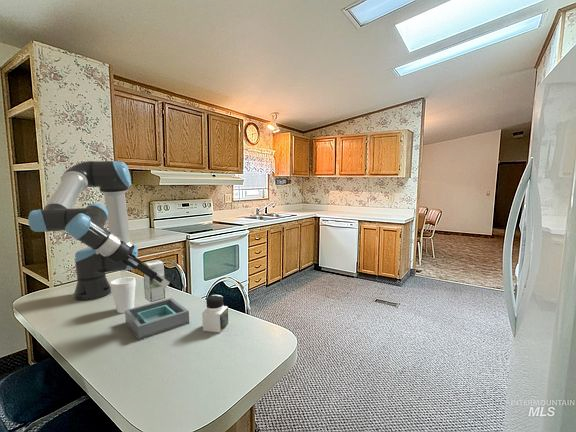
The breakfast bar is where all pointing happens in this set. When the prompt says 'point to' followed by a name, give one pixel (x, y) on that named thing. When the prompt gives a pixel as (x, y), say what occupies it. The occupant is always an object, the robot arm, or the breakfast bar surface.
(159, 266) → the syrup box
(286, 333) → the breakfast bar surface
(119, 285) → the foam cup
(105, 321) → the breakfast bar surface
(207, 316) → the medicine bottle
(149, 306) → the walled box
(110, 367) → the breakfast bar surface
